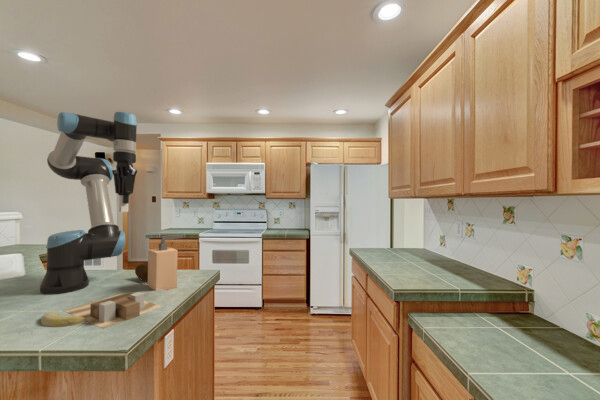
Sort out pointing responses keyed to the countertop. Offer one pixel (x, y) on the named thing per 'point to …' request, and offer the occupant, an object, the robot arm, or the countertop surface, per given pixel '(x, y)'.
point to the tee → (119, 307)
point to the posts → (109, 307)
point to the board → (85, 312)
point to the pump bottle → (163, 265)
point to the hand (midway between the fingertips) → (123, 211)
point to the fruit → (60, 320)
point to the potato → (142, 271)
